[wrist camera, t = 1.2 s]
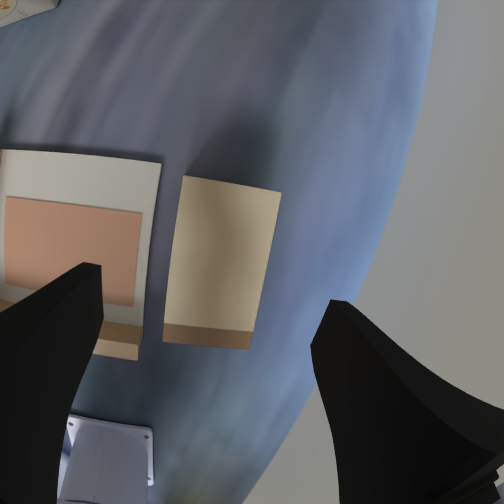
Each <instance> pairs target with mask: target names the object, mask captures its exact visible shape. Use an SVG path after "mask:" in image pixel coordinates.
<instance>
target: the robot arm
mask: <svg viewBox="0 0 504 504" xmlns="http://www.w3.org/2000/svg"><path fill="white" fill-rule="evenodd" d="M103 320H104V309H103V293H102V266H101V265H98V264H93V263H88V262H82V263H80V264H78V265H77V266H75V267H73V268H72V269H70V270H69V271H67V272H65V273H64V274H62V275H61V276H59V277H58V278H56V279H54V280H53V281H51V282H50V283H48V284H47V285H45V286H43V287H42V288H40V289H39V290H37V291H36V292H34V293H32V294H31V295H29V296H27V297H26V298H24V299H22V300H21V301H19V302H17V303H16V304H14V305H12V306H11V307H9V308H7V309H5V310H3V311H1V312H0V504H148V485H153V484H154V479H153V431H152V429H150V428H148V427H141V426H134V425H126V424H120V423H114V422H108V421H102V420H97V419H92V418H87V417H82V416H77V415H73V414H69V413H70V409H71V406H72V403H73V400H74V397H75V395H76V392H77V389H78V387H79V384H80V382H81V379H82V377H83V375H84V372H85V370H86V367H87V365H88V363H89V360H90V358H91V355H92V353H93V351H94V348H95V346H96V343H97V340H98V337H99V333H100V330H101V326H102V323H103ZM310 347H311V355H312V362H313V368H314V373H315V377H316V381H317V384H318V387H319V391H320V394H321V398H322V401H323V404H324V408H325V411H326V415H327V418H328V421H329V424H330V429H331V433H332V437H333V443H334V450H335V456H336V464H337V472H338V483H339V501H340V504H504V483H502V484H501V485H499V486H498V487H496V486H495V484H494V481H496V480H497V479H498V478H499V475H498V474H497V471H496V470H497V469H498V468H499V467H501V466H502V465H503V464H504V410H503V409H500V408H498V407H495V406H493V405H490V404H488V403H486V402H483V401H481V400H479V399H477V398H475V397H473V396H471V395H469V394H467V393H465V392H464V391H462V390H460V389H458V388H456V387H455V386H453V385H451V384H450V383H448V382H447V381H445V380H443V379H442V378H440V377H439V376H437V375H436V374H435V373H433V372H432V371H430V370H429V369H427V368H426V367H425V366H423V365H422V364H421V363H419V362H418V361H417V360H416V359H414V358H413V357H412V356H411V355H409V354H408V353H407V352H406V351H404V350H403V349H402V348H401V347H399V345H397V344H396V343H395V342H394V341H393V340H392V339H390V338H389V337H388V336H387V335H386V334H385V333H384V332H383V331H381V330H380V329H379V328H378V327H377V326H376V325H375V324H374V323H373V322H371V321H370V320H369V319H368V318H367V317H366V316H365V315H363V314H362V313H361V312H360V311H359V310H358V309H356V308H355V307H354V306H353V305H351V304H350V303H349V302H347V301H339V300H330V302H329V304H328V307H327V309H326V311H325V314H324V316H323V318H322V320H321V323H320V325H319V327H318V329H317V332H316V334H315V336H314V338H313V341H312V343H311V345H310ZM66 426H67V429H68V433H69V437H70V441H71V444H72V450H71V453H70V457H69V461H68V465H67V469H66V473H65V477H64V481H63V485H62V489H61V494H60V498H57V487H58V476H59V466H60V459H61V452H62V446H63V440H64V435H65V430H66ZM145 435H147V436H145Z"/></svg>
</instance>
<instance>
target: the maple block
mask: <svg viewBox="0 0 504 504" xmlns="http://www.w3.org/2000/svg"><path fill="white" fill-rule="evenodd" d="M281 194H282V193H280V192H275V191H271V190H266V189H261V188H256V187H250V186H245V185H239V184H234V183H228V182H222V181H216V180H211V179H204V178H198V177H192V176H185V175H184V176H183V182H182V187H181V193H180V199H179V205H178V212H177V218H176V225H175V232H174V239H173V246H172V254H171V261H170V269H169V278H168V286H167V296H166V305H165V316H164V327H163V339H162V342H170V343H178V344H188V345H198V346H209V347H221V348H235V349H249V348H250V343H251V339H252V334H253V329H254V325H255V320H256V315H257V311H258V306H259V301H260V297H261V292H262V287H263V282H264V278H265V273H266V268H267V263H268V258H269V253H270V248H271V244H272V239H273V234H274V229H275V224H276V219H277V214H278V209H279V204H280V199H281Z"/></svg>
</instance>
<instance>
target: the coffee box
mask: <svg viewBox="0 0 504 504" xmlns="http://www.w3.org/2000/svg"><path fill="white" fill-rule="evenodd" d="M58 2H59V0H0V28H1V27H3V26H5V25H8V24H11V23H13V22H16V21H18V20H21V19H24V18H27V17H29V16H32V15H35V14H38V13H41V12H44V11H48V10H51V9H54V8H56V7H57V5H58Z"/></svg>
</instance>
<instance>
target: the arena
mask: <svg viewBox="0 0 504 504" xmlns="http://www.w3.org/2000/svg"><path fill="white" fill-rule="evenodd" d="M161 167H162V164H160V163H153V162H145V161H137V160H129V159H121V158H112V157H103V156H93V155H83V154H71V153H59V152H44V151H27V150H4V149H0V312H1V311H3V310H5V309H7V308H9V307H11V306H12V305H14V304H16V303H17V302H19V301H21V300H22V299H24V298H26V297H27V296H29V295H31V294H32V293H34V292H36V291H37V290H39V289H40V288H42V287H43V286H45V285H47V284H48V283H50V282H51V281H53V280H54V279H56V278H58V277H59V276H61V275H62V274H64V273H65V272H67V271H69V270H70V269H72V268H73V267H75V266H77V265H78V264H80V263H82V262H88V263H93V264H98V265H101V266H102V293H103V309H104V320H103V323H102V326H101V330H100V333H99V337H98V340H97V343H96V346H95V348H94V351H93V353H92V354H98V355H103V356H109V357H115V358H122V359H128V360H135V361H138V357H139V352H140V347H141V342H142V334H143V316H144V302H145V289H146V278H147V268H148V258H149V249H150V241H151V233H152V225H153V218H154V211H155V204H156V197H157V191H158V185H159V179H160V173H161Z"/></svg>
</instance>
